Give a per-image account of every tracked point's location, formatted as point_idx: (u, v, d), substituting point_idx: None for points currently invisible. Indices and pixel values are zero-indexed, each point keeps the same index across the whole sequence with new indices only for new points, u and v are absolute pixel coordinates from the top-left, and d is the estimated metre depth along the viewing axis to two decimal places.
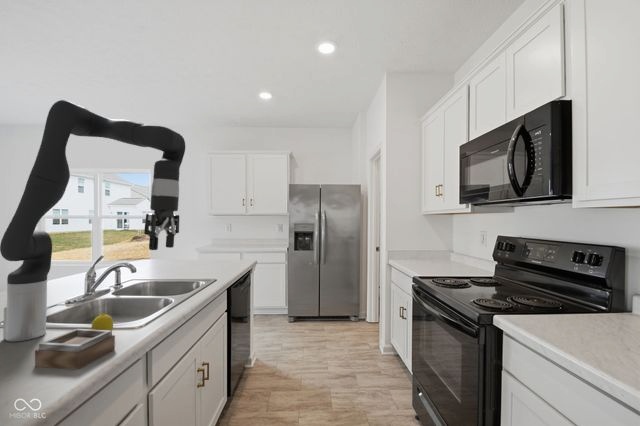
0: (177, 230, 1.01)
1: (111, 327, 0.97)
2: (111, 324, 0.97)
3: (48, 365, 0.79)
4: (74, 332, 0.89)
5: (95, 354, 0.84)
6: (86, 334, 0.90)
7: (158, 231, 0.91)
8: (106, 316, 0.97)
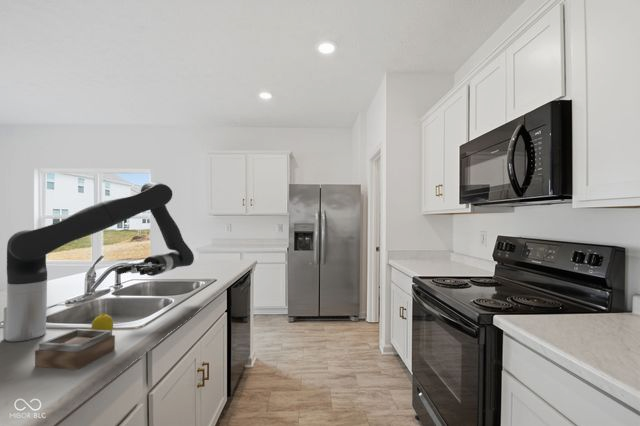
0: None
1: (111, 327, 0.97)
2: (111, 324, 0.97)
3: (48, 365, 0.79)
4: (74, 332, 0.89)
5: (95, 354, 0.84)
6: (86, 334, 0.90)
7: None
8: (106, 316, 0.97)
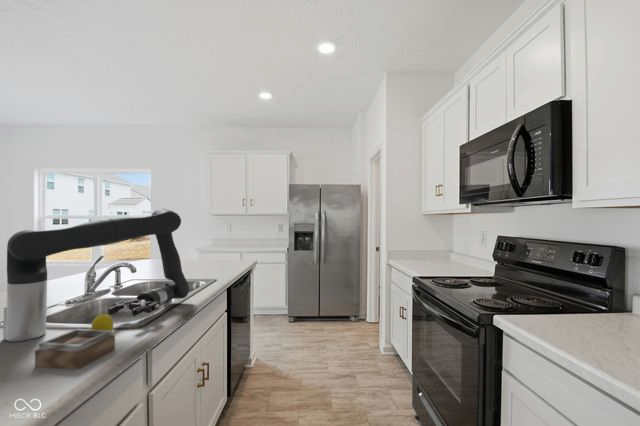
0: None
1: (111, 327, 0.97)
2: (111, 324, 0.97)
3: (48, 365, 0.79)
4: (74, 332, 0.89)
5: (95, 354, 0.84)
6: (86, 334, 0.90)
7: None
8: (106, 316, 0.97)
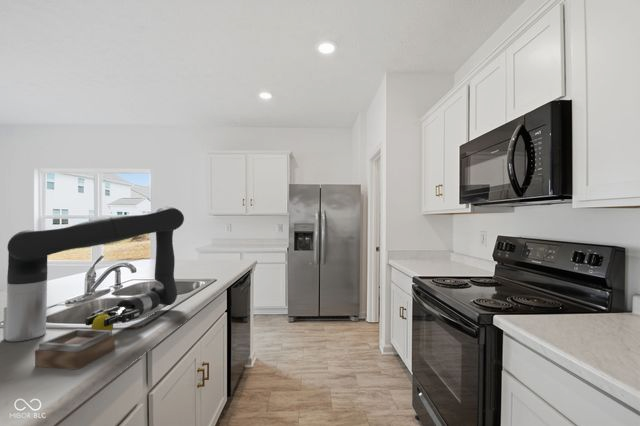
0: None
1: (111, 327, 0.97)
2: None
3: (48, 365, 0.79)
4: (74, 332, 0.89)
5: (95, 354, 0.84)
6: (86, 334, 0.90)
7: None
8: (106, 316, 0.97)
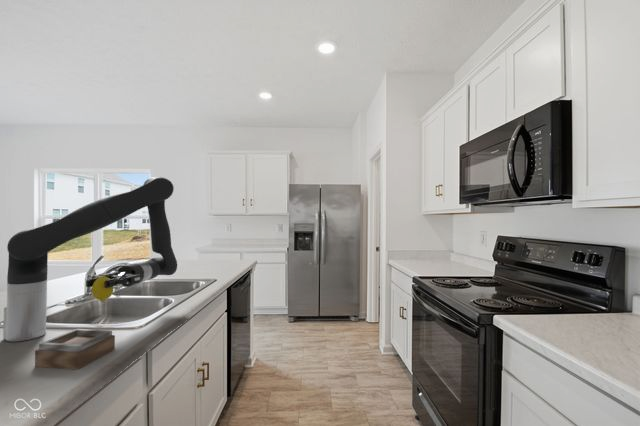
0: None
1: (111, 289, 0.97)
2: None
3: (48, 365, 0.79)
4: (74, 332, 0.89)
5: (95, 354, 0.84)
6: (86, 334, 0.90)
7: None
8: (106, 278, 0.97)
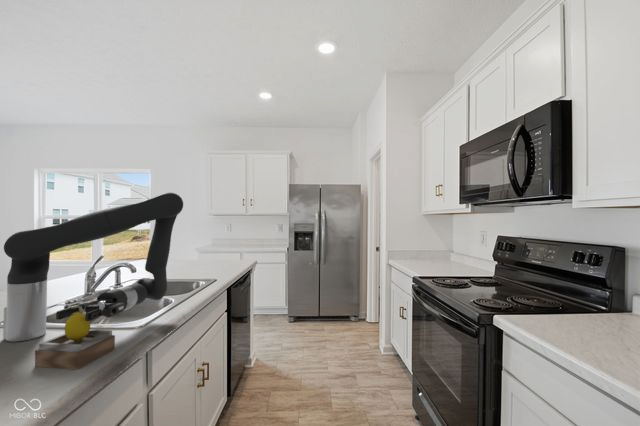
0: None
1: (88, 327, 0.85)
2: (87, 324, 0.85)
3: (48, 365, 0.79)
4: None
5: (95, 354, 0.84)
6: None
7: None
8: (81, 315, 0.85)
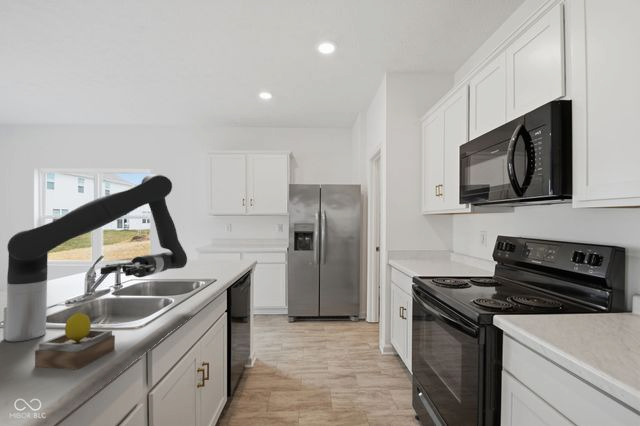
0: None
1: (88, 328, 0.85)
2: (88, 324, 0.85)
3: (48, 365, 0.79)
4: None
5: (95, 354, 0.84)
6: None
7: None
8: (82, 315, 0.85)
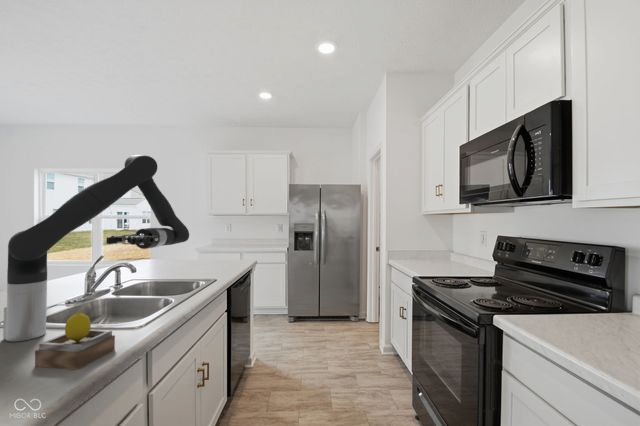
0: None
1: (88, 328, 0.85)
2: (88, 324, 0.85)
3: (48, 365, 0.79)
4: None
5: (95, 354, 0.84)
6: None
7: (142, 243, 1.07)
8: (82, 315, 0.85)
